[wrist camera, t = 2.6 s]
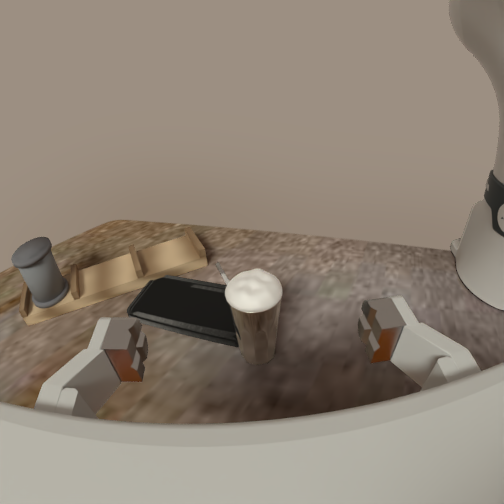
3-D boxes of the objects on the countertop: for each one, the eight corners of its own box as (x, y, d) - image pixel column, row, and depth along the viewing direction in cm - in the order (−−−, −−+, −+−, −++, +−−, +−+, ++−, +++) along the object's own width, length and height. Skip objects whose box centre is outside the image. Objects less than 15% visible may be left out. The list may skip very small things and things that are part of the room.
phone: (248, 344, 30) (123, 313, 34) (249, 351, 31) (126, 320, 35) (269, 291, 36) (156, 272, 40) (270, 298, 37) (158, 278, 41)
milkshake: (239, 327, 33) (229, 247, 27) (288, 341, 31) (290, 260, 25) (219, 359, 29) (201, 279, 24) (271, 377, 27) (268, 297, 22)
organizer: (192, 242, 47) (189, 226, 45) (207, 265, 42) (204, 248, 40) (31, 296, 38) (23, 282, 36) (28, 326, 33) (18, 311, 31)
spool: (69, 275, 39) (51, 232, 35) (69, 300, 35) (47, 254, 31) (35, 287, 37) (15, 245, 33) (32, 313, 33) (8, 269, 29)
